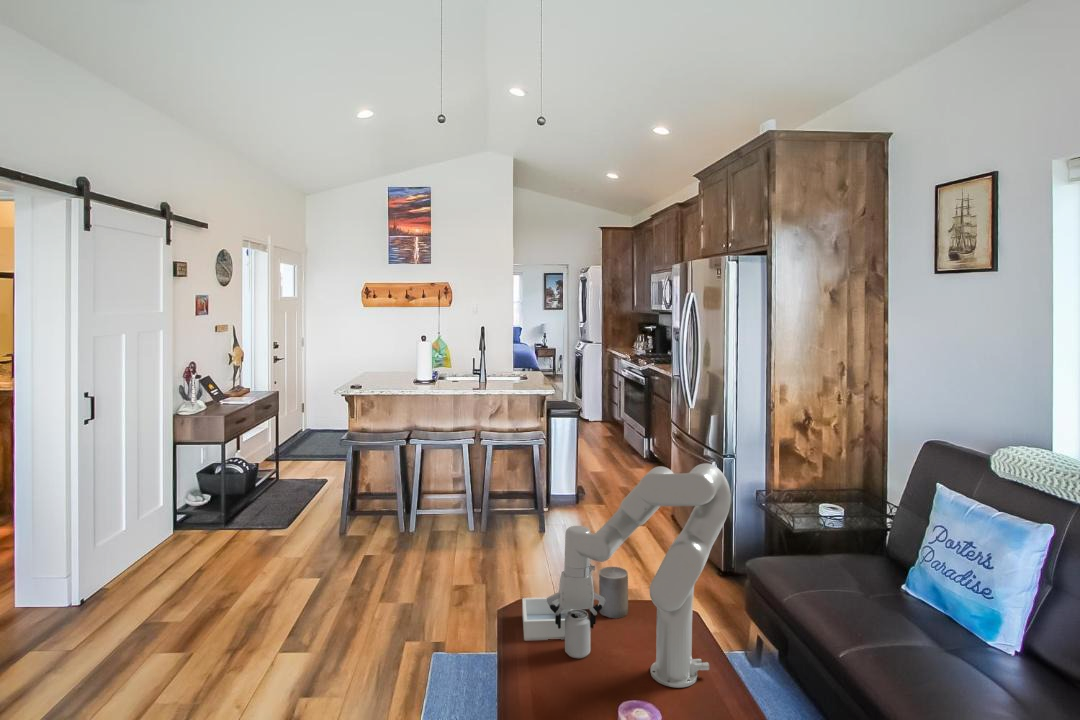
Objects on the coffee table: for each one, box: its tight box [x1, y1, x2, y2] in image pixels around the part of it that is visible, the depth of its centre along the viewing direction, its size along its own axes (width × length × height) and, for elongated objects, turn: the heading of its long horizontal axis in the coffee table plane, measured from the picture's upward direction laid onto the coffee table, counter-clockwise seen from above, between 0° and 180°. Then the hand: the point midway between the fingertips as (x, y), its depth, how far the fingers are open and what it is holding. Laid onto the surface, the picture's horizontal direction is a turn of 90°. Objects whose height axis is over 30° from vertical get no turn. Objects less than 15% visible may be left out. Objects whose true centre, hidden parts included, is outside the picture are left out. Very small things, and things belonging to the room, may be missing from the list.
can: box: [564, 609, 592, 659], centre depth 181 cm, size 8×8×12 cm
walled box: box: [521, 597, 574, 642], centre depth 197 cm, size 16×16×6 cm
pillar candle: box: [598, 566, 629, 619], centre depth 207 cm, size 10×10×15 cm
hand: (575, 626), depth 181 cm, fingers open, 9 cm apart
